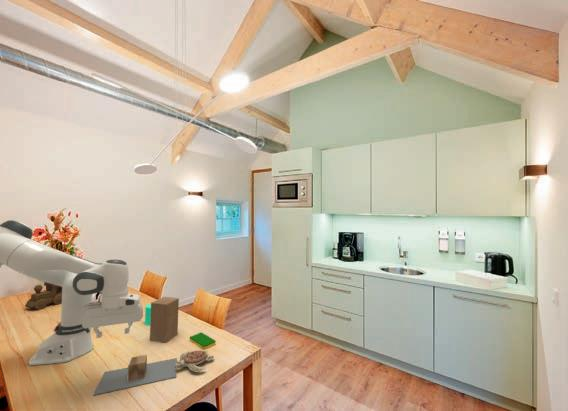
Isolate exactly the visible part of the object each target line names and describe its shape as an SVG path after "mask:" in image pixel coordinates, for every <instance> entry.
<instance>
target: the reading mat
mask: <svg viewBox="0 0 568 411" xmlns="http://www.w3.org/2000/svg"><path fill="white" fill-rule="evenodd" d="M177 362H178V357H176V358H169V359H164V360H160V361H155V362H149V363H147V369H146V373H145V377H144V378H140V379H135V380H131V381H127V375H128V367H124V368H123V367H122V368H118V369H114V370H109V371H108V370H107V371H104V372H103V374H102V376H101V378H100V380H99V382H98V383H97V384H98V385H97V387H96V388H95V390H94V392H93V397H95V396H99V395H103V394H108V393H112V392H118V391H120V390H125V389H126V390H127V389H130V388H134V387H139V386H144V385H148V384H154V383H159V382H163V381H167V380H171V379H176V378H177V372H178V371H177V370H178V369H177V368H175V365H176V363H177Z"/></svg>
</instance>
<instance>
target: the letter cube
mask: <svg viewBox="0 0 568 411" xmlns="http://www.w3.org/2000/svg"><path fill="white" fill-rule="evenodd" d="M147 360H148V354H143V355H139V356H132V357H130V359H129V361H128V365H127V368H128V375H127V381H131V380H135V379H140V378H144V377H145V373H146V369H147V364H148V363H147V362H148V361H147Z"/></svg>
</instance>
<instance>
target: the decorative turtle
mask: <svg viewBox="0 0 568 411" xmlns="http://www.w3.org/2000/svg"><path fill="white" fill-rule="evenodd" d="M208 352H209V350H193V351H189V350H187V351H185V352H183V353H182V354H180V356H179V359H180V361H177V363H176V365H175V368H177V370H178V369H182V368H183V367H187V368H188V369H189V370H190V371H192V372H195V373H199V372H202V371H205V370H206V369H207V368H206V366H199V365H200V364H202V363H203V362H205V361H211V360H213V359H214V358H215V356H214V355H208V354H207V353H208Z"/></svg>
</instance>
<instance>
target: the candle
mask: <svg viewBox="0 0 568 411" xmlns="http://www.w3.org/2000/svg"><path fill="white" fill-rule="evenodd" d="M144 309H145V311H144V312H145V313H144V325H146V326H150V320H151V304H147V305H146V306H145V307H144Z"/></svg>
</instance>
